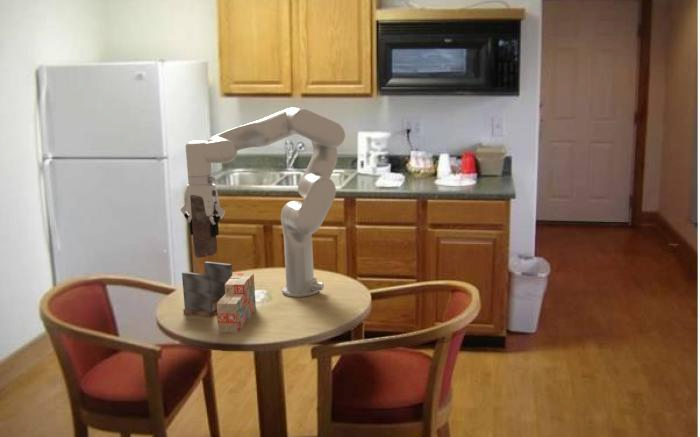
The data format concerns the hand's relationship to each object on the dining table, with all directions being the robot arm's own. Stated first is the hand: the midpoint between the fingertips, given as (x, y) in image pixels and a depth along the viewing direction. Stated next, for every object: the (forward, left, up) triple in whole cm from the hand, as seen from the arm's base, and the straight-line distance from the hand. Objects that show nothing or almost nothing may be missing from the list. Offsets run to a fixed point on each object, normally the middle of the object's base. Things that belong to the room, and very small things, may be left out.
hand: (204, 234), depth 245 cm
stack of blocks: (-15, +6, -25) cm, 30 cm away
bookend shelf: (0, 0, -25) cm, 25 cm away
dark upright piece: (0, 0, -7) cm, 7 cm away
